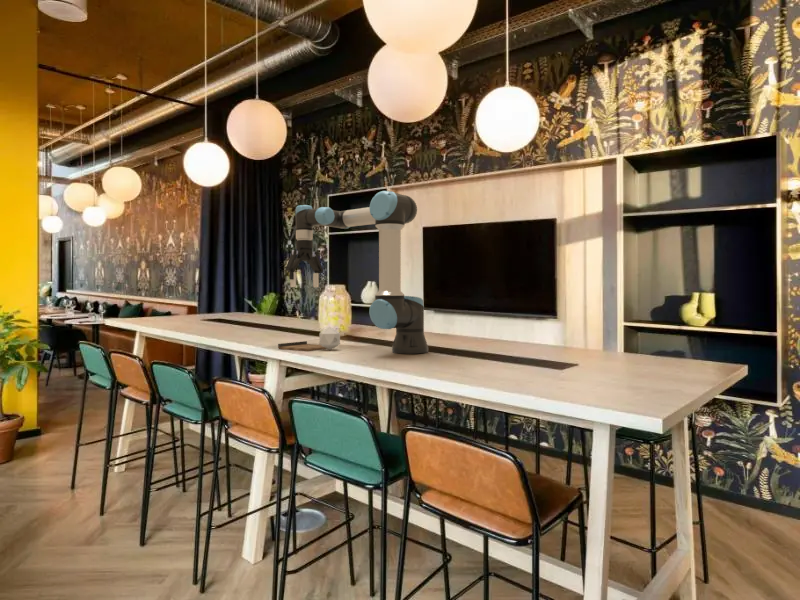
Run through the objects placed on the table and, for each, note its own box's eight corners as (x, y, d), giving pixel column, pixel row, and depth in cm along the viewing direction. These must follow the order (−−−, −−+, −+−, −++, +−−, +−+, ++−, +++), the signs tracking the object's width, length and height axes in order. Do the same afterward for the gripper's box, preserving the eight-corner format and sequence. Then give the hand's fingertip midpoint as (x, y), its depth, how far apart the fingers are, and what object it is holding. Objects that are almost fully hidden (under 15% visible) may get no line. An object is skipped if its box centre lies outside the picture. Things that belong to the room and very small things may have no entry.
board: (334, 348, 236) (334, 343, 236) (307, 351, 223) (307, 345, 223) (305, 346, 246) (305, 341, 246) (278, 348, 234) (278, 343, 234)
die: (336, 351, 221) (336, 327, 221) (316, 351, 223) (315, 327, 223) (343, 349, 230) (343, 326, 230) (323, 349, 231) (322, 325, 231)
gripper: (319, 242, 256) (319, 287, 256) (276, 238, 237) (277, 287, 237) (330, 241, 252) (330, 287, 252) (288, 237, 232) (288, 286, 232)
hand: (304, 287), depth 244 cm, fingers open, 13 cm apart
